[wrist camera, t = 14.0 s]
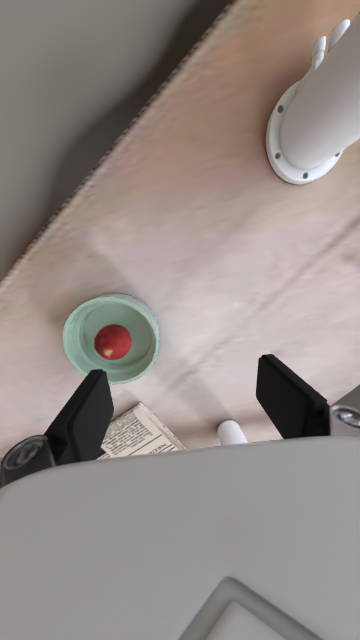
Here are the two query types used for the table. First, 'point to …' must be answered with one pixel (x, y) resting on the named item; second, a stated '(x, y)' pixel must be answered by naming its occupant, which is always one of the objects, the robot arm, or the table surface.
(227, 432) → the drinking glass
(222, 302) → the table surface
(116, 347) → the onion
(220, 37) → the table surface
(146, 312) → the bowl
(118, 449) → the newspaper
